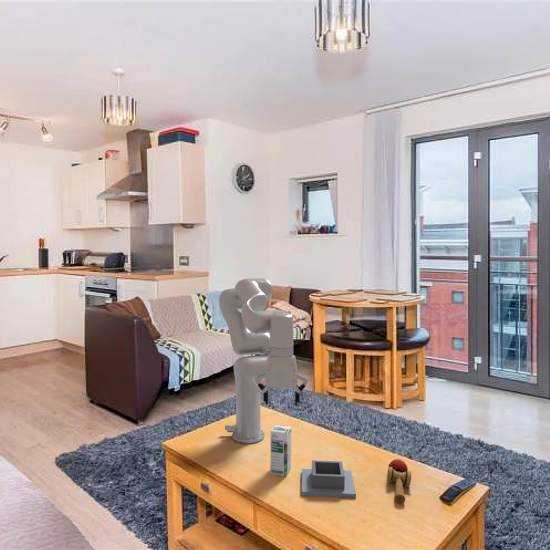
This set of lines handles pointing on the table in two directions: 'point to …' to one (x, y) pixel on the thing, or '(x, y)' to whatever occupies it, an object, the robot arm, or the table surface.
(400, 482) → the kendama
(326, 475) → the socket board
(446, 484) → the table surface
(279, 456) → the syrup box
